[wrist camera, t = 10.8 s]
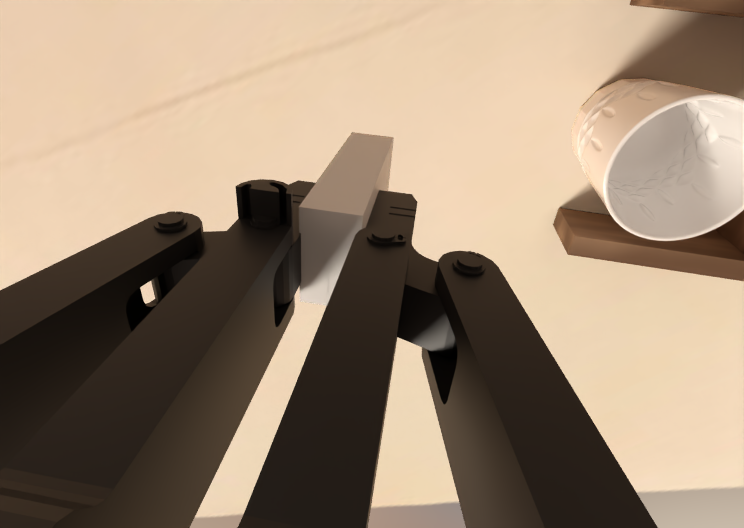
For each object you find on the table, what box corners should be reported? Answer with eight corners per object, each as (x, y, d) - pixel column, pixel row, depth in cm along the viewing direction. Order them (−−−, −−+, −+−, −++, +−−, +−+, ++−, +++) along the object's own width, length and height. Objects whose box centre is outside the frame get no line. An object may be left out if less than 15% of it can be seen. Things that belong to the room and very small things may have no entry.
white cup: (668, 44, 28) (764, 61, 20) (694, 151, 31) (786, 206, 23) (547, 104, 31) (584, 142, 23) (580, 197, 34) (625, 261, 26)
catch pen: (639, -24, 27) (676, -29, 22) (874, 1, 26) (959, 0, 21) (553, 224, 36) (567, 254, 31) (725, 250, 35) (765, 284, 30)
